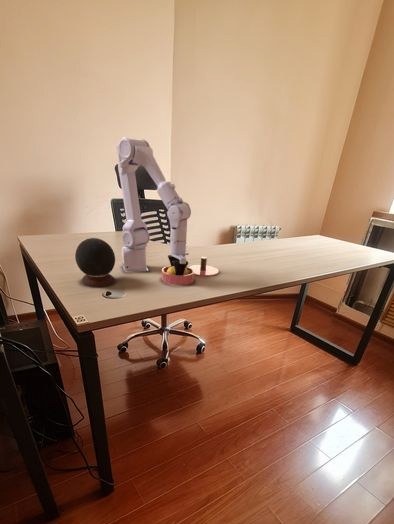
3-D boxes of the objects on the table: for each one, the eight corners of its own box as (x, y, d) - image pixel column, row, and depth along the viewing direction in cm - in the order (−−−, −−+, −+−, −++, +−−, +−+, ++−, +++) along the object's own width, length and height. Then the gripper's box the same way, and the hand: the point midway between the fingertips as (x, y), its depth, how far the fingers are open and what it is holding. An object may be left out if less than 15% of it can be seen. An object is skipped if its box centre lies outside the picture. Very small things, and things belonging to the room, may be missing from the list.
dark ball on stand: (119, 286, 107) (116, 243, 99) (79, 289, 102) (72, 243, 94) (114, 274, 117) (111, 233, 109) (78, 276, 113) (72, 234, 105)
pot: (165, 287, 109) (166, 276, 107) (158, 275, 119) (158, 265, 117) (197, 285, 113) (198, 275, 111) (188, 274, 123) (188, 264, 121)
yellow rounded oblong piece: (168, 282, 113) (168, 269, 110) (165, 277, 116) (165, 264, 114) (191, 281, 115) (191, 268, 112) (187, 276, 119) (188, 264, 116)
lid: (192, 278, 119) (193, 263, 116) (183, 267, 129) (184, 253, 126) (223, 276, 123) (224, 262, 120) (211, 266, 133) (213, 252, 130)
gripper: (195, 245, 103) (192, 283, 111) (183, 235, 115) (182, 270, 122) (175, 245, 101) (174, 284, 109) (165, 235, 113) (164, 271, 120)
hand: (177, 277), depth 115 cm, fingers closed on yellow rounded oblong piece, 5 cm apart
